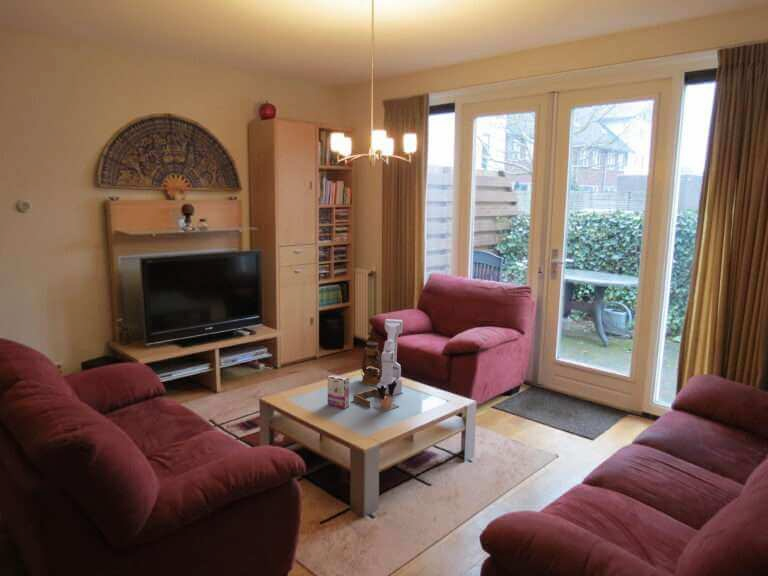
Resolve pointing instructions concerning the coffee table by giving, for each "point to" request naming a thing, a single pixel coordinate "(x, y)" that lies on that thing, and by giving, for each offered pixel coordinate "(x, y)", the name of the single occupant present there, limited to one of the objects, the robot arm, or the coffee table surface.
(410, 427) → the coffee table surface
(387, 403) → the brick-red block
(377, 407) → the grey mat
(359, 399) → the walnut arch
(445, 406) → the coffee table surface
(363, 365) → the lantern
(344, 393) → the candy bar box
